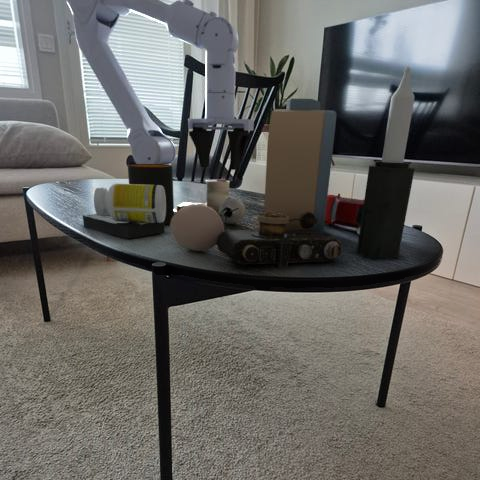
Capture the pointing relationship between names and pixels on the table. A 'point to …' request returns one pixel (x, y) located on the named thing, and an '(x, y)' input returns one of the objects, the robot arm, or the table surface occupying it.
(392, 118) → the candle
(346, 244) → the table surface
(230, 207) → the reed diffuser
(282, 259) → the camera
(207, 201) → the pointer wheel
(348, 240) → the table surface
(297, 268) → the table surface
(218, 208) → the dial console
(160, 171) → the mug
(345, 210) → the toy car
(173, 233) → the egg
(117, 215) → the pill bottle
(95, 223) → the vhs tape
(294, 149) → the tall beige block
